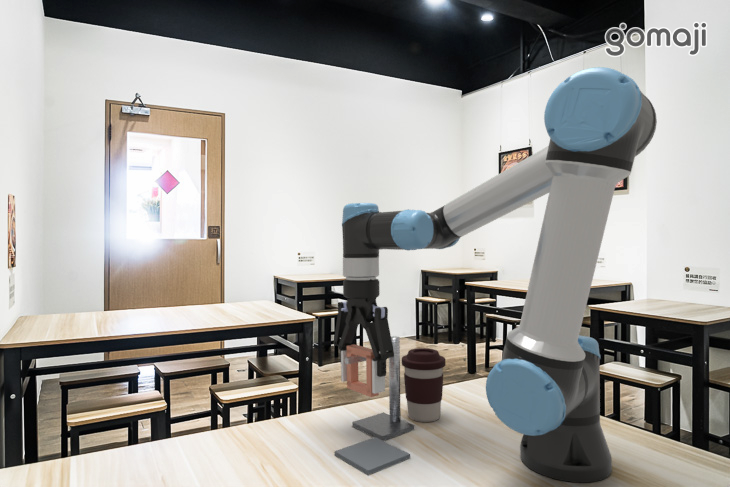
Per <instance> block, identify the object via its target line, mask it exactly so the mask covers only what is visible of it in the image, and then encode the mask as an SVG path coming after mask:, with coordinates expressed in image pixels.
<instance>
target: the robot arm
mask: <svg viewBox="0 0 730 487" xmlns="http://www.w3.org/2000/svg"><path fill="white" fill-rule="evenodd" d="M544 109H545V110H544V116H543V117H544V118H543V119H544V126H545V130H546V132H547V135H548V136H549V141H548V142H549V143H548V145H547V146H546V147H544V148H542V149H541V150H539V151H537V152H535V153H534V154H532V155H530V156H528V157H527V158H525V159H523V160H521V161H519V162H518V163H515V164H514V165H512V166H511V167H509V168H507V169H505V170H503V171H502V172H500V173H497V175H494V176H493V177H491V178H490V179H488V180H486V181H484V182H482V183H480V184H479V185H477V186H476V187H474V188H472V189H470V190H468V191H467V192H464V193H463V194H462V195H459V197H456V198H454V199H453V200H451V201H449V202H448V203H446V204H445V205H443V206H441V207H439V208H437V209H436V210H434V211H431V212H426V211H424V210H422V209H417V210H416V209H404V210H395V211H394V210H393V211H383V212H381V211H380V210H379V205H378V204H376V203H372V202H354V203H353V202H352V203H348V204H346V205H344V206H343V209H342V220H341V221H342V222H341V227H342V228H341V229H342V231H341V232H342V276H343V277H344V278H345V279H344V280H343V281H342V283H343V284H342V286H343V287H342V294H343V297H345V298H346V301H338V302H337V316H336V317H337V319H336V325H335V331H334V336H333V345H334V346H337V347H338V350H339V354H340V355H339V356H340V357H339V361H340V365H341V366H340V372H341V373H340V374H341V376H340V377H341V378H340V379H341V380H340V381H341V382H342V383H345V382H346V383H347V364H345V357H347V346H348V345H353V341H354V338H355V335H356V333H357V330H358V328H359V325H361V327H362V329H364V330H365V332H366V335H367V338H368V343H369V345H370V349H372V351H373V354H374V357H375V358H373V359H372V393H374V394H376V393H382V392H383V393H384V392H386V376H387V359H389V358H391V357H394V351H393V345H392V340H391V337H392V335H391V330H390V324H389V321H388V319H389V316H388V314H389V313H388V312H389V309H388V307H387V306H382V307H381V306H378V304H377V298H379V296H380V293H381V292H380V280H379V278H377V277H379V276H380V250H394V251H395V250H398V251H399V250H400V251H401V250H402V251H403V250H405V251H416V250H425V249H426V250H427V249H428V250H429V249H430V250H433V249H434V250H435V249H436V250H444V249H447V248H451V247H453V246H456V244H457V243H458V242H460V239H461V238H462V237H464V236H466V235H468V234H469V233H472V232H474V231H476V230H477V229H478V230H479V229H480V228H482V227H484V226H486V225H488V224H490V223H492V222H494V221H496V220H498V219H500V218H502V217H503V216H506V215H508V214H510V213H511V212H513V211H516V210H517V209H519V208H520V209H521V207H524V206H525V205H527V204H529V203H532V202H533V201H536V200H537V199H539V198H541V197H543V196H545V195H548V197H547V202H546V207H545V211H544V214H543V215H544V216H543V220H542V223H541V228H540V232H539V233H540V234H539V236H538V237H539V238H538V241H537V247H536V252H535V255H534V259H533V260H534V261H533V264H532V268H531V269H532V270H531V273H530V278H529V282H528V287H527V292H526V295H525V300H524V301H525V302H524V304H523V309H522V314H521V319H520V322H519V325H518V326H517V327H515V328H514V329H511V330H510V331H508V333H507V335H506V339H505V344H504V348H503V352H502V357H501V360H500V361H498V362H497V363H495V364H494V365H493V368H492V369H491V370H490V371H489V373H488V375H487V377H486V381H485V393H486V398H487V402H488V404H489V406H490V408H492V411H493V413H495V416H496V417H497V418H498V419H499V421H501V423H503V424H504V425H505V427H508V428H509V429H510V430H512V431H514V432H516V433H518V434H521V435H522V438H521V441H520V446H519V452H520V453H519V454H520V455H519V456H520V459H521V461H522V463H523V464H524V465H525V466H526V467H527V468H528V469H530V470H532V471H534V472H536V473H537V474H540V475H542V476H545V477H548V478H552V479H555V480H559V481H564V482H573V483H591V482H592V483H593V482H599V481H602V480H604V479H607V478H608V477H609V476H610V475H611V474H612V470H613V469H612V467H613V466H612V465H613V463H612V462H613V458H612V453H611V451H610V448H609V445H608V443H607V439H606V437H605V434H604V431H603V428H602V425H601V413H600V412H601V408H600V407H601V402H600V401H601V400H600V399H601V395H600V394H601V389H600V387H601V383H600V381H601V379H600V374H601V373H600V372H601V371H600V368H601V367H600V364H601V363H600V360H601V354H600V348H599V347H600V345H599V342H598V341H597V340H596V339H595V338H593V337H590V336H587V335H580V334H581V328H582V325H583V320H584V317H585V316H584V315H585V312H586V308H587V304H588V300H589V296H590V291H591V287H592V283H593V279H594V274H595V272H596V266H597V263H598V259H599V254H600V251H601V246H602V242H603V239H604V233H605V230H606V226H607V221H608V217H609V214H610V209H611V205H612V201H613V197H614V193H615V189H616V186H617V184H619V183H620V182H621V181H623V180H624V179H626V178H627V177H629V176H631V173H632V171H633V165H634V162H635V159H636V158H635V157H637V156H638V155H639V154H641V153H642V152H643V151H644V150H645V149H646V147H648V145H649V144H651V141H652V139H653V138H654V136H655V133H656V130H657V114H656V110H655V108H654V105H653V103H652V102H651V101H650V99H649V98H648V96H646V95H645V94H644V93H643V91H641V89H640V88H639V86H638V84H637V82H635V80H634V79H632V78H631V77H630V76H628V75H627V74H624V73H622V72H621V71H618V69H617V70H616V69H613V68H611V67H610V68H609V67H604V66H603V67H602V66H601V67H600V66H597V67H588V68H585V69H582V70H579V71H577V72H575V73H573V74H572V75H570V76H568V77H566V78H565V79H564V80H563V81H561V82H560V83H559V84H558V85H557V86H556V88H555V89H554V90H553V91H552V93H551V95H550V96H549V98H548V100H547V102H546V105H545V108H544ZM387 351H388V352H387ZM379 352H380V354H379Z"/></svg>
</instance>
